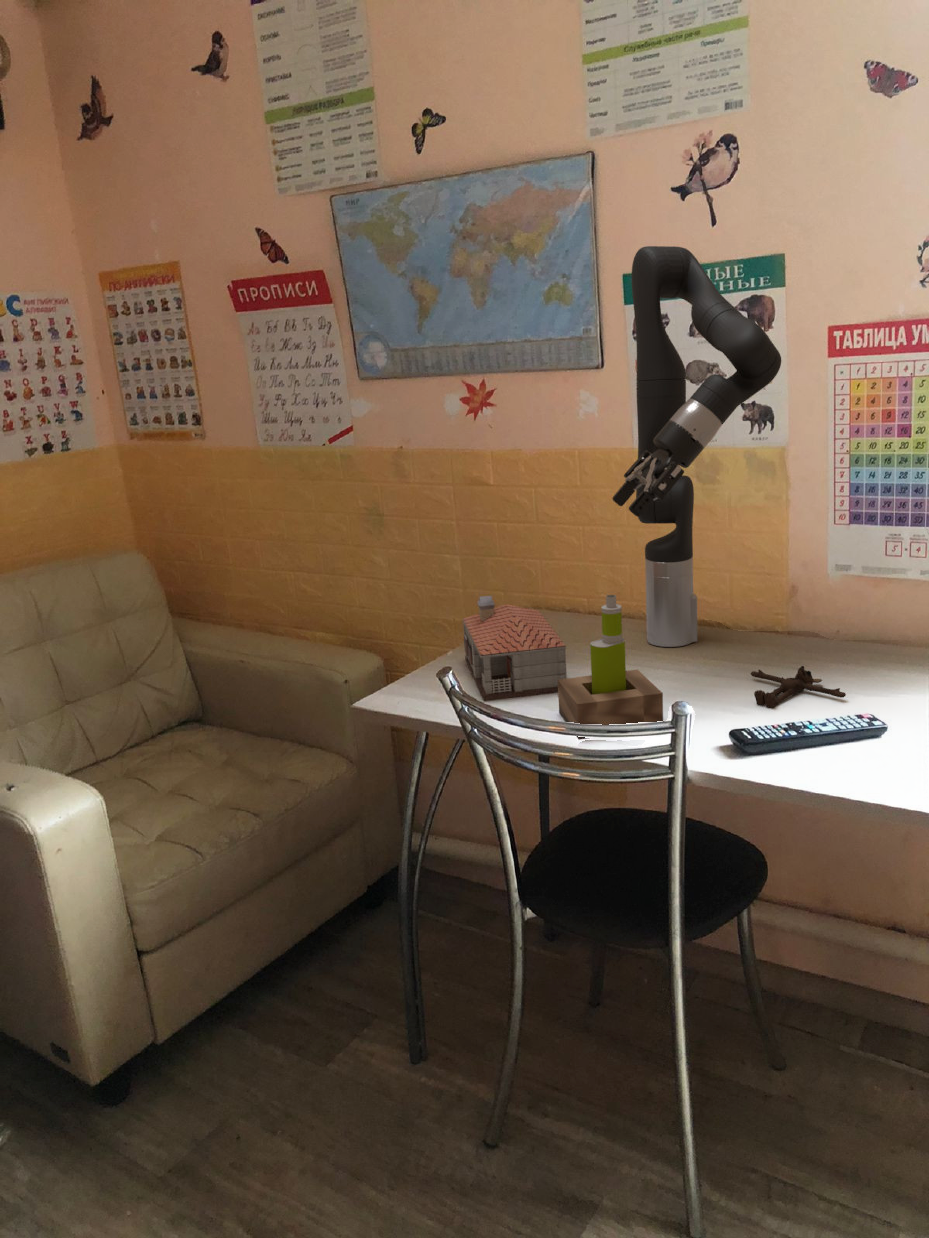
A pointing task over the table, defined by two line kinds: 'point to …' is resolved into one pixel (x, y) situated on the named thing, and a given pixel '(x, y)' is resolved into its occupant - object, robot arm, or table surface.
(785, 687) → the brown humanoid figurine
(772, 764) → the table surface
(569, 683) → the dock
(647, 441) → the robot arm
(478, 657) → the model house
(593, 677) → the vape
